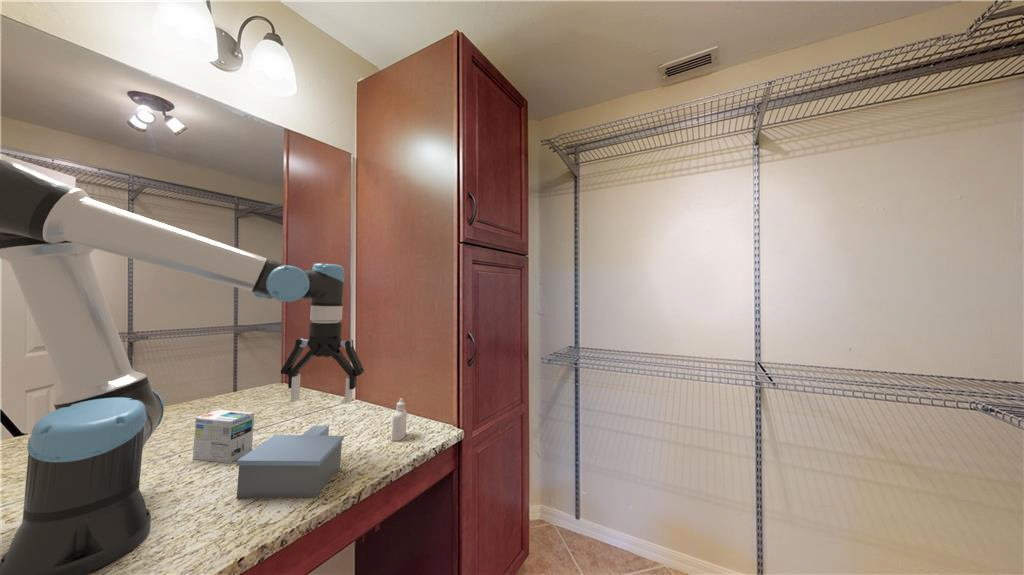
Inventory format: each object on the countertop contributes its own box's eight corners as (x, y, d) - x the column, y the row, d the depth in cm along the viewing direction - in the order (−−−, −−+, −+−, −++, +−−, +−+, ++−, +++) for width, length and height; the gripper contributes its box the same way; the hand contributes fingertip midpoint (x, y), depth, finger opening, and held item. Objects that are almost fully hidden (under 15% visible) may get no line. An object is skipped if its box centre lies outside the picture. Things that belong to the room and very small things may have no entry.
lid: (236, 472, 68) (236, 460, 68) (288, 434, 87) (289, 425, 87) (318, 472, 70) (319, 461, 70) (352, 435, 88) (353, 426, 88)
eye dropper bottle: (386, 438, 100) (388, 399, 100) (401, 432, 104) (404, 395, 105) (395, 442, 97) (397, 402, 98) (410, 436, 102) (412, 398, 102)
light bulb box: (253, 451, 88) (256, 411, 88) (228, 464, 81) (232, 421, 81) (217, 447, 89) (220, 408, 89) (190, 460, 82) (194, 417, 82)
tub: (236, 498, 69) (239, 464, 69) (272, 467, 80) (275, 439, 81) (315, 497, 70) (318, 464, 70) (340, 468, 82) (341, 440, 82)
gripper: (378, 321, 92) (374, 396, 91) (285, 318, 90) (281, 395, 89) (369, 324, 84) (365, 406, 84) (267, 321, 82) (262, 405, 82)
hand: (321, 400), depth 87 cm, fingers open, 13 cm apart
